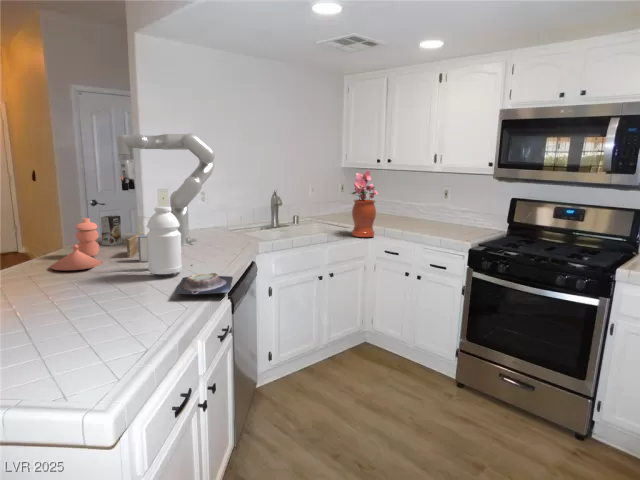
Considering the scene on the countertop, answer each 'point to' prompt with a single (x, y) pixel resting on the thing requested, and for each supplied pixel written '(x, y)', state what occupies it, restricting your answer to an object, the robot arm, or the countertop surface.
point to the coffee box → (111, 230)
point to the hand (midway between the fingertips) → (128, 189)
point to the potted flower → (363, 207)
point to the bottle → (164, 242)
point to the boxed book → (143, 248)
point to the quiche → (204, 284)
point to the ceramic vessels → (82, 249)
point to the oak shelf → (132, 246)
